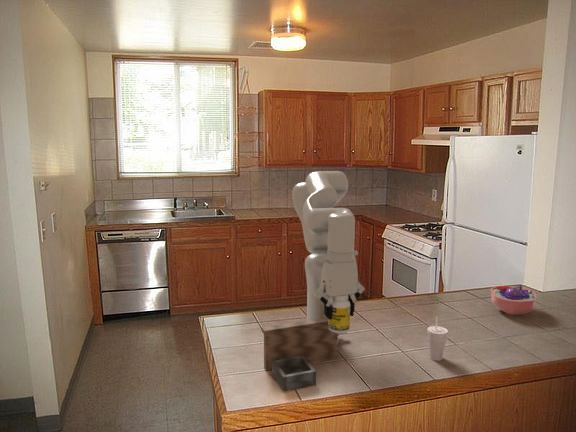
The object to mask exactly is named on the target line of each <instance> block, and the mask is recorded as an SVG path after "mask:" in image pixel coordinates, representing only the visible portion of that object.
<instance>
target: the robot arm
mask: <svg viewBox="0 0 576 432" xmlns="http://www.w3.org/2000/svg"><path fill="white" fill-rule="evenodd" d="M348 190H349V181H348V177H347V175H346V174H345V173H344V172H343V171H339V170H324V171H323V170H319V171H313V172H311V173H309V174H307V176H306V178H305V182H299V183H297V184H295V186H293V189H292V193H291V194H292V203H293V207H294V210H295V212H296V214H297V216H298V218H299V220H300V222H301V227H302V233H303V234H302V235H303V238H304V239H303V240H304V243H305V248H306V250H307V251H308V252H309V253H310V254H309V255H307V257H306V258H305V260H304V271H305V277H306V293H307V294H306V295H307V297H306V298H307V300H306V302H307V303H306V321H308V320H314V319H321V318H328V319H329V320H330V319H332V306H331V302H332V300H333V297H337V296H343V295H348V299H347V300H348V301H349V302H350V317H353V316H355V315H354V314H355V313H354V312H355V307H356V306H355V304H356V303H357V300H358V298H360V296H361V294H362V293H363V292H364V291H365V289H366V288H365V287H364V286H363V285H362V284H361V282H360V281H359V274H358V273H359V271H358V264H357V260H356V256H358V255H359V251H358V250H355V237H356V236H355V235H356V233H355V232H356V218H355V217H356V216H354V214H353V213H352V211H351V210H350V209H349V208H346V207H334V206H336V205H337V204H338V203H339V202H340V201H341V200H342V199H344V197H345V195H346V194H347V192H348ZM345 334H348V331H347V332H345V333H338V334H337V345H338V344H339V341H340V340H339V336H340V335H345Z"/></svg>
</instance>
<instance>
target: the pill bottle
mask: <svg viewBox="0 0 576 432" xmlns="http://www.w3.org/2000/svg"><path fill="white" fill-rule="evenodd" d="M348 299H349V298H348V295H343V296H337V297H333V300H332V302H331V306H332V319H330V320H329V322H328V327H329V330H330V331H332V332H335V333H345V332H347V333H348V331H349V330H351V329H350V328H351V323H350V322H351V316H350V302H349V301H348Z"/></svg>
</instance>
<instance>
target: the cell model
mask: <svg viewBox="0 0 576 432" xmlns="http://www.w3.org/2000/svg"><path fill="white" fill-rule="evenodd" d="M490 296H491V297H490V299H491V302H492V304H493V305H494V307H495V308H497V309H498V310H500V311H502V312H503V313H505V314H508V315H510V316H511V315H512V316H517V315H518V316H519V315H525V314H529V313H530V312H531V311H533V309H534V308H535V304H536V300H537V298H538V295H537V294H536V293H535V292H534V291H533V290H530V289H529V288H525V287H523V286H522V285H497V286H496V285H495V286H493V287H491V288H490Z"/></svg>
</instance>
